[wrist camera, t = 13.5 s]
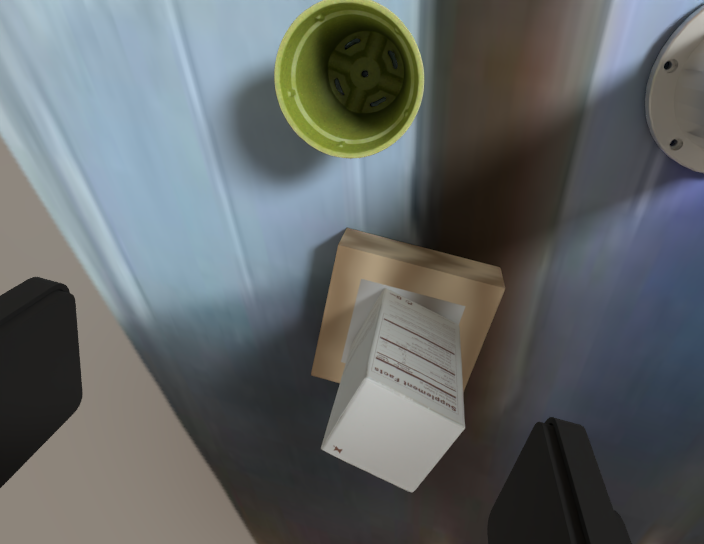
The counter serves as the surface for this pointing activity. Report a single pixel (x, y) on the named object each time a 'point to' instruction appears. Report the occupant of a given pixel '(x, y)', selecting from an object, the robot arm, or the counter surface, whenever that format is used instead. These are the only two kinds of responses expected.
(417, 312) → the supplement box
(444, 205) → the counter surface
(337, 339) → the oak plinth
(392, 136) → the plant pot
